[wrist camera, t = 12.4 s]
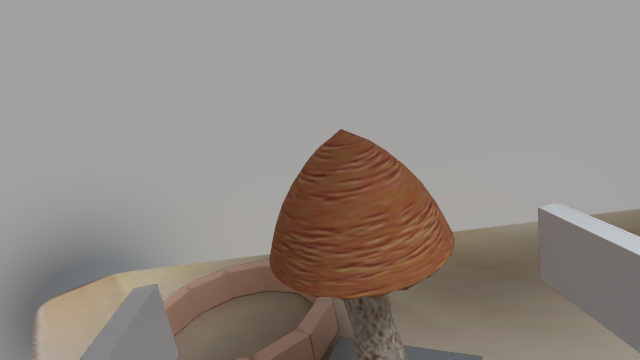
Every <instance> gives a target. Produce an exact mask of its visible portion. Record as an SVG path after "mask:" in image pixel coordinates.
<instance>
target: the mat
mask: <svg viewBox="0 0 640 360" xmlns="http://www.w3.org/2000/svg"><path fill="white" fill-rule="evenodd" d="M403 347H404V350H405V352H406V354H407V357H408V359H409V360H483V358H482V356H475V355H468V354H460V353H453V352H446V351H439V350H431V349H424V348H417V347H410V346H403ZM328 360H356V358H355V345H354V339H352V338H344V337H340V339H339V340H338V342H337V344H336V346H335V348H334V350H333V351H332V353H331V355H330V357H329V359H328Z"/></svg>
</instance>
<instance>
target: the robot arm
mask: <svg viewBox="0 0 640 360" xmlns="http://www.w3.org/2000/svg"><path fill="white" fill-rule="evenodd" d="M538 219H539V220H538V223H539V250H540V277H541V279H542V280H543V281H545V282H546V283H547V284H549V285H550V286H551V287H553V288H554V289H555V290H557V291H558V292H559V293H561V294H562V295H563V296H565V297H566V298H567V299H569V300H570V301H571V302H573V303H574V304H575V305H577V306H578V307H579V308H581V309H582V310H583V311H585V312H586V313H587V314H589V315H590V316H591V317H593V318H594V319H595V320H597V321H598V322H599V323H601V324H602V325H603V326H605V327H606V328H607V329H609V330H610V331H611V332H613V333H614V334H615V335H617V336H618V337H619V338H621V339H622V340H623V341H625V342H626V343H627V344H629V345H630V346H631V347H633V348H634V349H635V350H637V351H638V352H639V353H640V237H639V236H637V235H635V234H632V233H630V232H627V231H625V230H623V229H620V228H618V227H615V226H613V225H611V224H608V223H606V222H604V221H601V220H599V219H596V218H594V217H592V216H589V215H587V214H584V213H582V212H580V211H577V210H575V209H572V208H570V207H568V206H565V205H563V204H561V203H556V204H551V205H546V206H541V207H538ZM178 356H179V352H178V349H177V346H176V343H175V340H174V336H173V333H172V330H171V327H170V324H169V320H168V317H167V314H166V311H165V308H164V305H163V301H162V298H161V295H160V292H159V289H158V286H157V284H154V285H149V286H144V287H139V288H134V289H133V290H132V291H131V293H130V294H129V295H128V297H127V298H126V299H125V301H124V302H123V303H122V305H121V306H120V307H119V309H118V310H117V311H116V312H115V314H114V315H113V316H112V318H111V319H110V320H109V322H108V323H107V324H106V326H105V327H104V328H103V330H102V331H101V332H100V333H99V335H98V336H97V337H96V339H95V340H94V341H93V343H92V344H91V345H90V347H89V348H88V349H87V351H86V352H85V353H84V354H83V356H82V357H81V358H80V360H177V358H178Z"/></svg>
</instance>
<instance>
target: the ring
mask: <svg viewBox="0 0 640 360" xmlns="http://www.w3.org/2000/svg"><path fill="white" fill-rule="evenodd" d="M267 290H268V291H279V292H291V293H298V294H300V295H301V296H303V297H304V298H306V299H307V300H309V301H310V302H312V303H313V304H314V305H313V306H312V307H311V309H310V310H309V312H308V313H307V314H306V316H305V317H304V319H303V320H302V321H301V323H300V324H299V326H298V327H297V328H296V330H294V331H292V332H290V333H289V334H287V335H285V336H284V337H282V338H280V339H279V340H277V341H275V342H274V343H272V344H270V345H269V346H267V347H265V348H263V349H262V350H260V351H258V352H257V353H255V354H253V355H252V356H247V357H243V358H238V359H234V360H322V358H323V357H324V355H325V353H326V351H327V350H328V348H329V346H330V344H331V342H332V341H333V339H334V337H335V335H336V334H337V332H338V324H337V319H336V313H335V308H334V303H333V298H332V297H319V298H315V297H313V296H311V295H309V294H306V293H303V292H300V291H296V290H294V289H292V288H290V287H288V286H286V285H284V284H283V283H282V282H281V281H279V280H278V279H277V278H276V277H275V275H274V274H273V273H272V270H271V267H270V260H262V261H257V262H252V263H248V264H243V265H238V266H233V267H228V268H225V269H222V270H220V271H217V272H215V273H213V274H211V275H208V276H206V277H204V278H201V279H199V280H197V281H195V282H192V283H190V284H188V285H185V287H182V288H181V289H180V290H178V291H177V292H176V293H174V294H173V295H172V296H170V297H169V298H168V299H166V300H165V301H164V302H163V305H164V308H165V311H166V314H167V317H168V320H169V324H170V327H171V330H172V333H173V336H175V335H176V334H177V333H179V332H180V331H181V330H182V329H183V328H184V327H185V326H186V325H188V324H189V323H190V322H191V321H192V320H193V319H194V318H195V317H197V316H198V315H199V314H201V313H203V312H205V311H207V310H209V309H211V308H213V307H215V306H217V305H219V304H221V303H223V302H225V301H227V300H229V299H231V298H234V297H239V296H243V295H248V294H253V293H258V292H262V291H267Z"/></svg>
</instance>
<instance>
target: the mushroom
mask: <svg viewBox="0 0 640 360" xmlns="http://www.w3.org/2000/svg"><path fill="white" fill-rule="evenodd" d="M453 248H454V236H453V233H452V231H451V229H450V227H449V225H448V223H447V221H446V219H445V218H444V216H443V214H442V212H441V210H440V209H439V207H438V205H437V203H436V202H435V200H434V199H433V198H432V196H431V195H430V193H429V192H428V191H427V190H426V188H425V187H424V185H423V184H422V183H421V181H420V180H419V179H418V178H417V177H416V176H415V175H413V173H412V172H411V171H410V170H409V169H408V168H407V167H406V166H405V165H403V164H402V163H401V162H400V161H398V160H397V159H396V158H395V157H393V156H392V155H391V154H389V153H388V152H387V151H386V150H384V149H383V148H381V147H380V146H378V145H376V144H375V143H373V142H371V141H370V140H367V139H365V138H362V137H360V136H357V135H354V134H352V133H350V132H347V131H344V130H342V129H341V130H339V131H338V132H337V133H336V134H335V135H333V137H331V138H330V139H329V140H327V141H326V142H325V143H324V144H323V145H321V146H320V147H319V148H318V149H317V150H316V151H315V153H314V154H313V155H312V156H311V157H310V158H309V160H308V161H307V162H306V164H305V165H304V167H303V168H302V170H301V171H300V173H299V175H298V176H297V178H296V179H295V181H294V182H293V184H292V186H291V188H290V190H289V192H288V194H287V196H286V198H285V200H284V202H283V204H282V208H281V211H280V214H279V217H278V220H277V223H276V227H275V232H274V237H273V242H272V248H271V254H270V267H271V270H272V273H273V274H274V275H275V277H276V278H277V279H278V280H279V281H281V282H282V283H283V284H284V285H286V286H288V287H290V288H292V289H294V290H296V291H300V292H303V293H306V294H309V295H311V296H313V297H315V298H319V297H332V298H340V299H342V300H343V301H344V303H345V306H346V309H347V312H348V315H349V319H350V322H351V325H352V328H353V333H354V345H355V358H356V360H409V359H408V357H407V354H406V352H405V350H404V347H403V345H402V342H401V340H400V337H399V335H398V333H397V330H396V328H395V325H394V323H393V319H392V314H391V309H390V304H389V299H388V293H390V292H393V291H395V290H407V289H408V288H410V287H412V286H413V285H415V284H417V283H418V282H420V281H421V280H423V279H425V278H427V277H430V276H431V275H432V274H433V273H435V272H436V271H437V270H438V269H439V268H440V267H441V266H442V265H443V264H445V263H446V261H447V260H448V258H449V257H450V256H451V254H452V251H453Z"/></svg>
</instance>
